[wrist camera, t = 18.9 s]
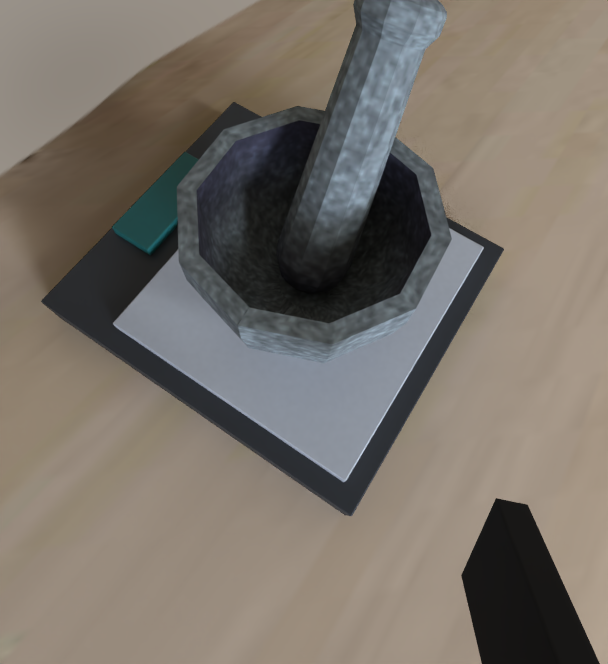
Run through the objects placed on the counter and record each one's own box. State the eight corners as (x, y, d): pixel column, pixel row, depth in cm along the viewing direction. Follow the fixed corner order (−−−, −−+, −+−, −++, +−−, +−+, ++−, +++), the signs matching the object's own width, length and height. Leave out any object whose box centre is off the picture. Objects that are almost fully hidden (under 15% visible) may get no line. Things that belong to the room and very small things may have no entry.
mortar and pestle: (343, 431, 20) (414, 341, 9) (167, 332, 22) (38, 145, 10) (442, 242, 24) (581, 9, 13) (287, 167, 25) (287, -104, 14)
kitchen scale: (58, 316, 24) (33, 295, 22) (237, 126, 29) (232, 92, 27) (345, 515, 21) (353, 517, 19) (489, 266, 26) (509, 242, 24)
